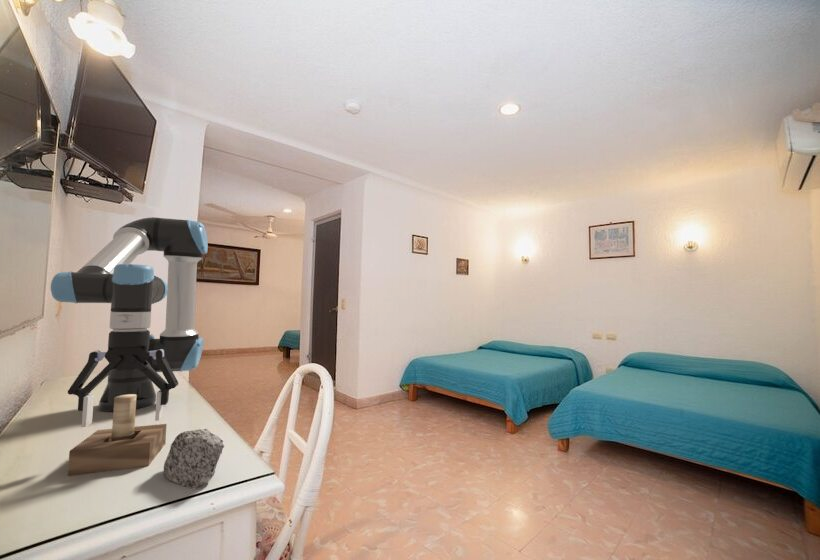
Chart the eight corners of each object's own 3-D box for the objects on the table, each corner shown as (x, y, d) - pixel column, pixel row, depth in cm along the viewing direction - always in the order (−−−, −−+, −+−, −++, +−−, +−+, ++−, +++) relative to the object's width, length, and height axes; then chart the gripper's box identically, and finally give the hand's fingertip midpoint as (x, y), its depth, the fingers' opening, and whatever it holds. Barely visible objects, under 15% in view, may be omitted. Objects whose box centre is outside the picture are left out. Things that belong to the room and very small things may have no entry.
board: (96, 451, 82) (97, 430, 83) (165, 443, 87) (166, 423, 88) (67, 475, 71) (69, 451, 72) (148, 465, 76) (150, 442, 77)
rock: (228, 483, 69) (229, 430, 71) (180, 498, 63) (183, 440, 65) (203, 470, 80) (204, 424, 82) (159, 481, 74) (162, 432, 76)
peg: (114, 455, 81) (118, 394, 81) (135, 453, 82) (139, 393, 83) (106, 463, 77) (110, 399, 77) (128, 460, 78) (132, 398, 79)
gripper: (51, 332, 73) (43, 434, 72) (187, 330, 82) (182, 421, 81) (71, 328, 80) (64, 421, 79) (194, 327, 89) (190, 411, 88)
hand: (123, 421), depth 80 cm, fingers open, 13 cm apart
